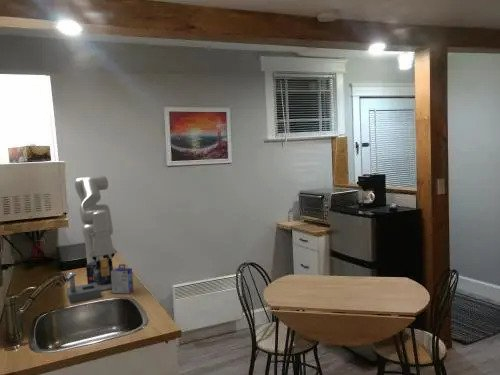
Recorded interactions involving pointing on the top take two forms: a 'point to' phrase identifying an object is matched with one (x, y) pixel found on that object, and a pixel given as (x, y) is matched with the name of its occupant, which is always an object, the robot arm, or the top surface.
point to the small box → (97, 274)
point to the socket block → (82, 291)
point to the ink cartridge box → (122, 280)
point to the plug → (104, 267)
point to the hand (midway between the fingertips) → (104, 266)
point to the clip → (70, 276)
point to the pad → (105, 287)
